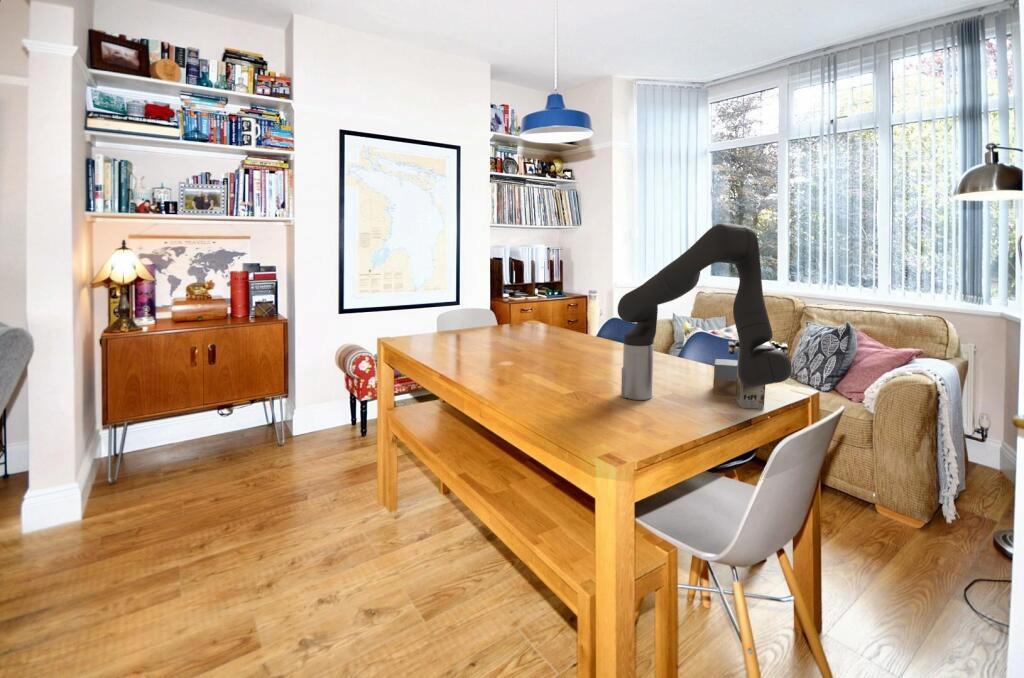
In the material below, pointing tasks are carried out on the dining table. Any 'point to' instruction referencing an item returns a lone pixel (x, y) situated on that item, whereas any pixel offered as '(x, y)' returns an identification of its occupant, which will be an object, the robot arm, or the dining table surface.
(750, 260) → the robot arm
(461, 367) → the dining table surface
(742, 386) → the coffee box
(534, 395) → the dining table surface
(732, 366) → the slab top
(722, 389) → the slab bottom
